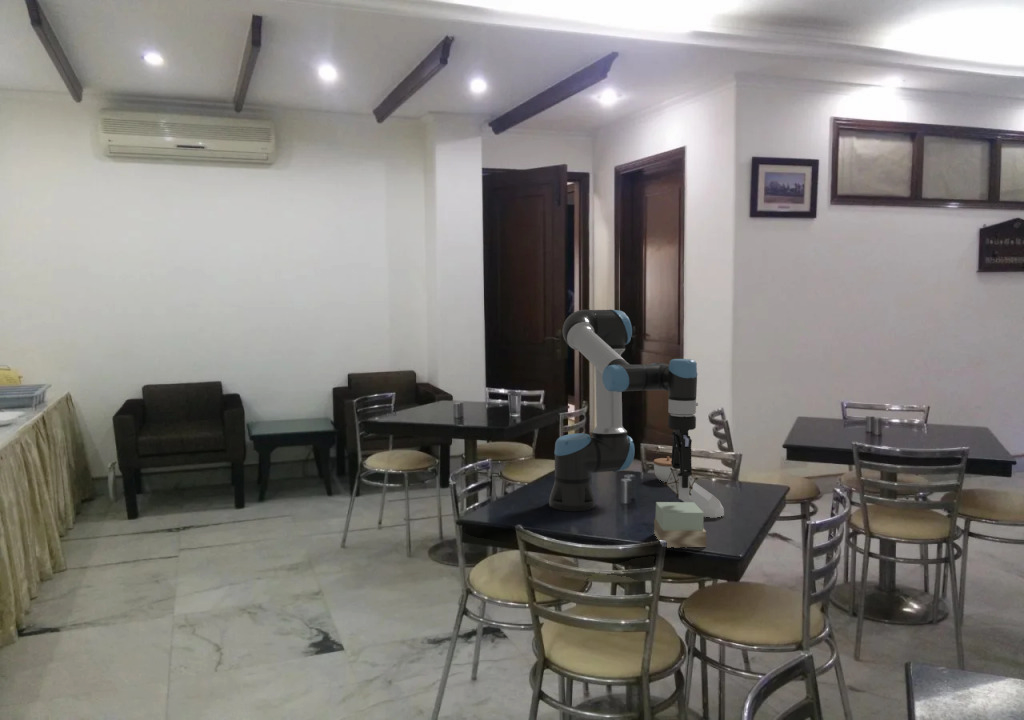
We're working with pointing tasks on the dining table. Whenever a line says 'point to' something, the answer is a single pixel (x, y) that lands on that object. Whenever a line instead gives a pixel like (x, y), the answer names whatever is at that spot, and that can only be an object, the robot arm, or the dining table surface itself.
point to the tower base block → (680, 537)
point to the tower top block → (679, 516)
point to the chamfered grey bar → (705, 502)
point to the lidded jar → (663, 468)
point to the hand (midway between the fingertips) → (680, 494)
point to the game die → (674, 481)
